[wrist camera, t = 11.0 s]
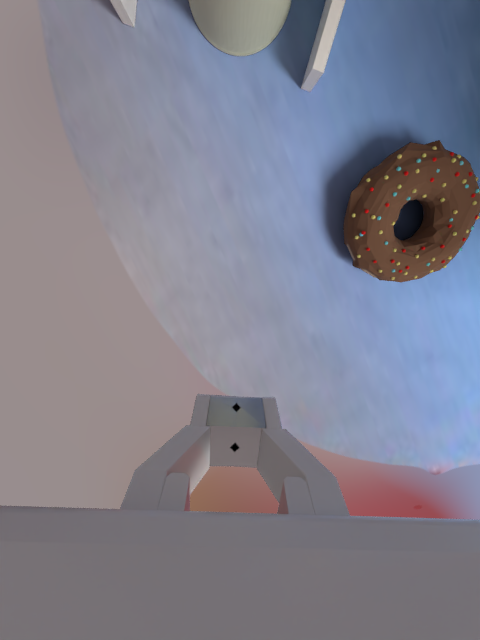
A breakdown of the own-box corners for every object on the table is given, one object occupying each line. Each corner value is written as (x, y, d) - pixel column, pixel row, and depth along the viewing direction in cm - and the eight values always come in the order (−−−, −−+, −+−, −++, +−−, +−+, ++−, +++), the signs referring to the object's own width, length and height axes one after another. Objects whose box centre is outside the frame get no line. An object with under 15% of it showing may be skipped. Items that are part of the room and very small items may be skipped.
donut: (479, 186, 30) (525, 182, 26) (404, 292, 35) (431, 305, 30) (378, 122, 27) (408, 103, 23) (311, 245, 32) (324, 251, 27)
